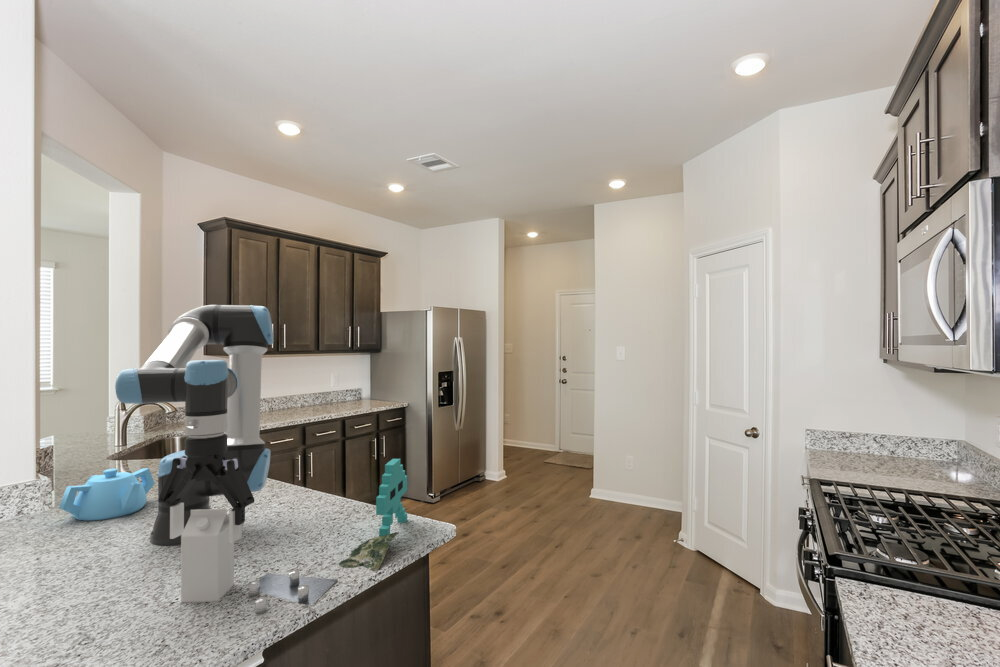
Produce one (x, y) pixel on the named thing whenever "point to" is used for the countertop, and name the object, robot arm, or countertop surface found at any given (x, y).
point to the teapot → (108, 495)
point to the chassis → (289, 588)
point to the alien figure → (391, 496)
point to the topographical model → (369, 553)
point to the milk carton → (206, 556)
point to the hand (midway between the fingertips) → (205, 538)
